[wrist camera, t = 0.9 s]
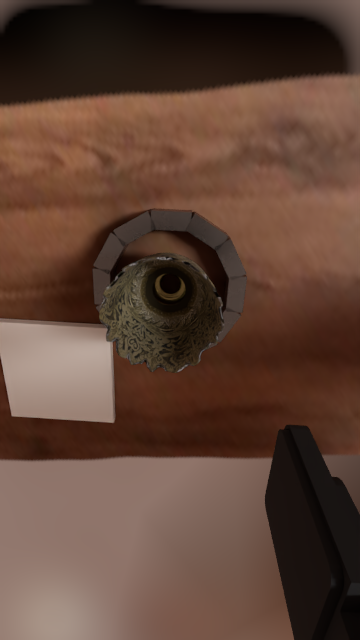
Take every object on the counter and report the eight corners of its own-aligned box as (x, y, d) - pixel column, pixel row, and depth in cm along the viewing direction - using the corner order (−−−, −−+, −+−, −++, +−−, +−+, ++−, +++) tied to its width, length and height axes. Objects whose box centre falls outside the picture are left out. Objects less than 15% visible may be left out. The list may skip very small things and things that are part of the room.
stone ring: (250, 213, 24) (254, 215, 22) (233, 350, 29) (236, 361, 27) (96, 205, 24) (88, 207, 23) (103, 342, 29) (97, 353, 27)
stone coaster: (111, 324, 28) (109, 328, 27) (115, 417, 32) (113, 422, 31) (-1, 318, 28) (-7, 321, 28) (16, 410, 32) (11, 416, 31)
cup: (172, 341, 28) (164, 394, 21) (107, 285, 27) (74, 322, 19) (234, 282, 26) (250, 319, 19) (168, 217, 25) (156, 229, 17)
